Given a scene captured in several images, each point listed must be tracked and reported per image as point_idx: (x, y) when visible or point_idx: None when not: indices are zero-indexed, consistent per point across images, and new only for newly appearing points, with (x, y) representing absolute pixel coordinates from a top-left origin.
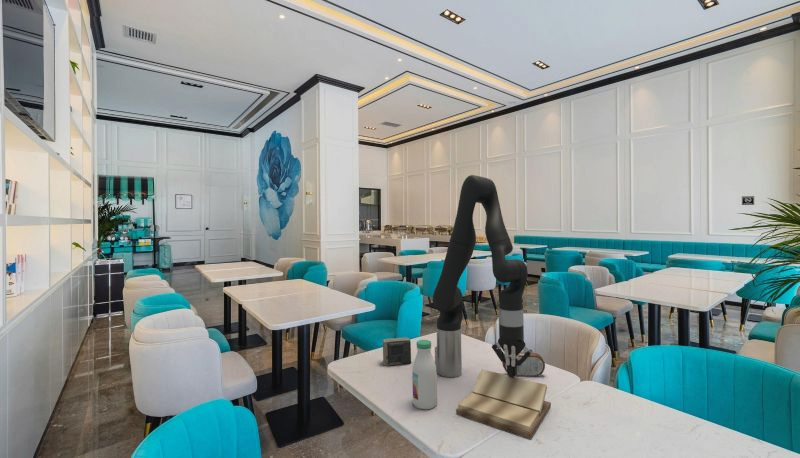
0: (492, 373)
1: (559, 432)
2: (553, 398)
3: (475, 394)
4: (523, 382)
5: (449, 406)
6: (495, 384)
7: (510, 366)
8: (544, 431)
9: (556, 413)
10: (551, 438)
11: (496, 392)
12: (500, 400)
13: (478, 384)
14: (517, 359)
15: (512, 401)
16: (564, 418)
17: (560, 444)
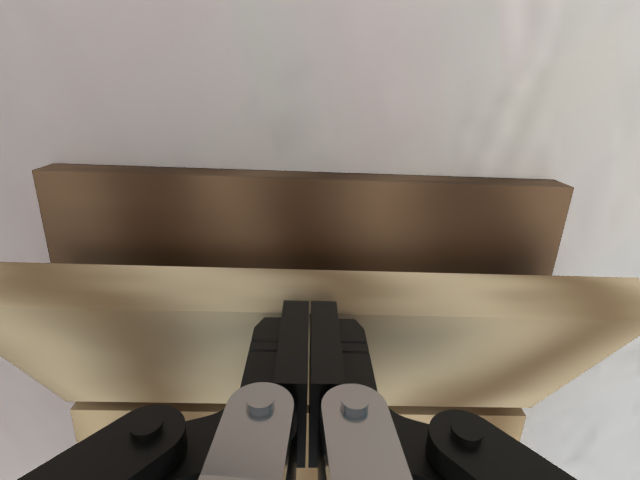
0: (88, 319)
1: (596, 401)
2: (572, 25)
3: (109, 418)
4: (429, 332)
5: (39, 458)
6: (189, 365)
7: (303, 464)
8: (529, 425)
9: (588, 237)
10: (560, 455)
11: (231, 390)
12: None
13: (62, 379)
14: (404, 475)
15: None
16: (631, 268)
17: (596, 473)
